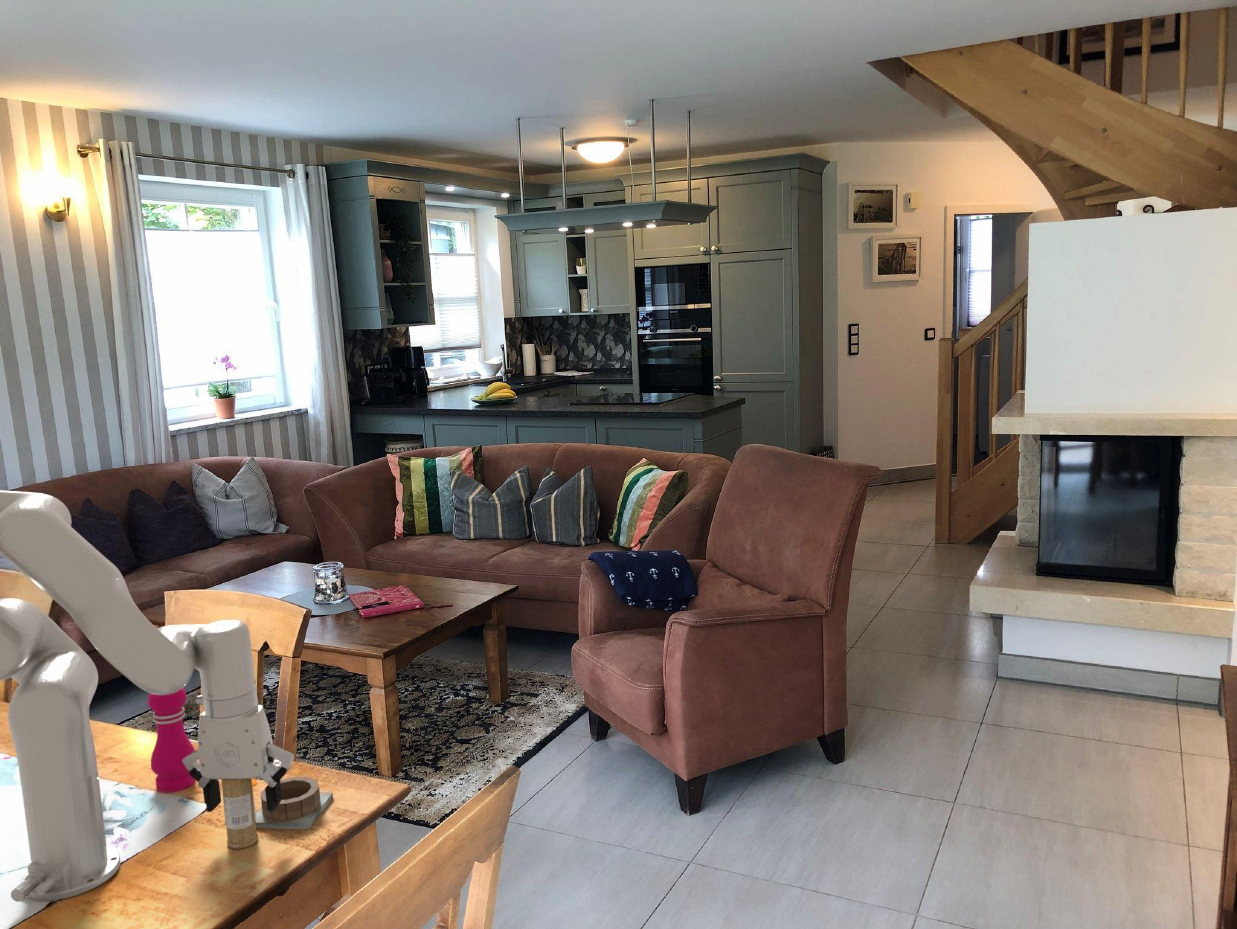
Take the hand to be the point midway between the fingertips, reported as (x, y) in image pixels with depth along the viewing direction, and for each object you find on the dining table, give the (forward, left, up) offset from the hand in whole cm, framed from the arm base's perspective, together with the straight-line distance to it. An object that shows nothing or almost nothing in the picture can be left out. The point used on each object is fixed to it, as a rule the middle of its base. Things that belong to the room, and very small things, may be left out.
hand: (244, 807), depth 146 cm
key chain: (+20, +8, -6) cm, 22 cm away
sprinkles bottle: (0, +1, -6) cm, 6 cm away
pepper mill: (+18, +22, -6) cm, 29 cm away
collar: (+9, -3, -6) cm, 11 cm away
